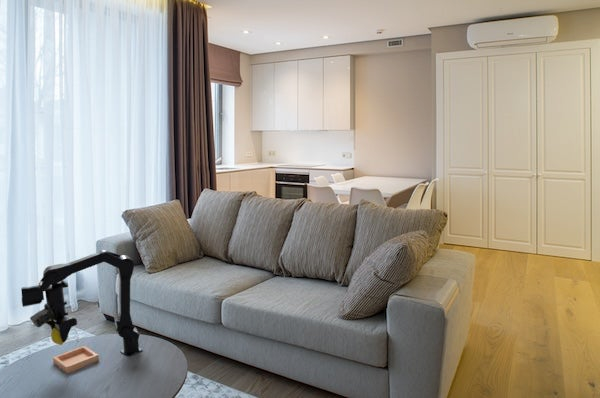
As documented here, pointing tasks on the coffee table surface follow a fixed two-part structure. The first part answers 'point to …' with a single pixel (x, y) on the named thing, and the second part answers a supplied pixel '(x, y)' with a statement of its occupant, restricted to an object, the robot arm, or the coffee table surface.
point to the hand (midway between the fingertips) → (60, 339)
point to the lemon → (56, 337)
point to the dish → (75, 359)
